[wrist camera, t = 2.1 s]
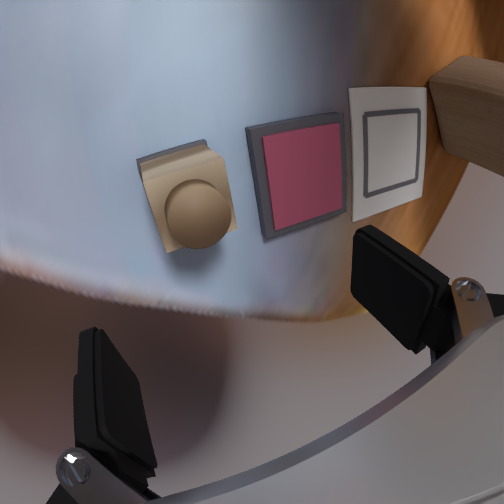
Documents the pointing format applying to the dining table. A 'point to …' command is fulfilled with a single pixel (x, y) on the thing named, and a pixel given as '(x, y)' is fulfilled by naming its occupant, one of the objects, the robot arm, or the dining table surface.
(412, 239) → the dining table surface
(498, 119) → the wooden block
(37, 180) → the dining table surface
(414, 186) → the paper sheet
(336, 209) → the ink pad
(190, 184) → the stamp
